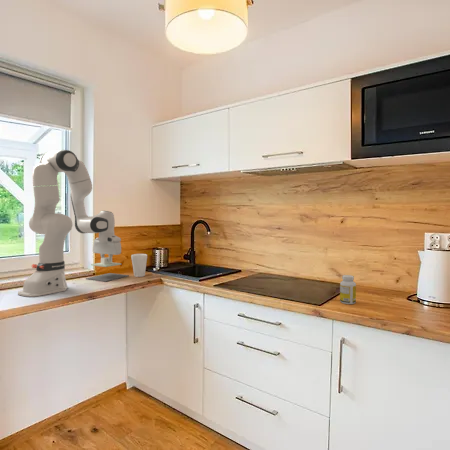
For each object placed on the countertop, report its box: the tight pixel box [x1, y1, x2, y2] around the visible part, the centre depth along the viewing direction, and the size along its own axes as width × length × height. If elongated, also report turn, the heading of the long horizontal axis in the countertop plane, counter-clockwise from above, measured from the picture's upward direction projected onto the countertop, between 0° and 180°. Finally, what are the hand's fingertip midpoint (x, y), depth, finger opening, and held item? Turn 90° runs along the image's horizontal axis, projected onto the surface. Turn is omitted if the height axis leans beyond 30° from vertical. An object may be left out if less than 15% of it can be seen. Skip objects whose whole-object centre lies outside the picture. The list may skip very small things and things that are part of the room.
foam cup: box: [130, 253, 148, 278], centre depth 206 cm, size 10×9×13 cm
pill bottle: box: [339, 274, 357, 305], centre depth 146 cm, size 6×6×12 cm
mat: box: [85, 272, 129, 283], centre depth 201 cm, size 18×16×1 cm
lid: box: [91, 256, 122, 268], centre depth 200 cm, size 12×12×4 cm
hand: (106, 261), depth 200 cm, fingers closed on lid, 3 cm apart
